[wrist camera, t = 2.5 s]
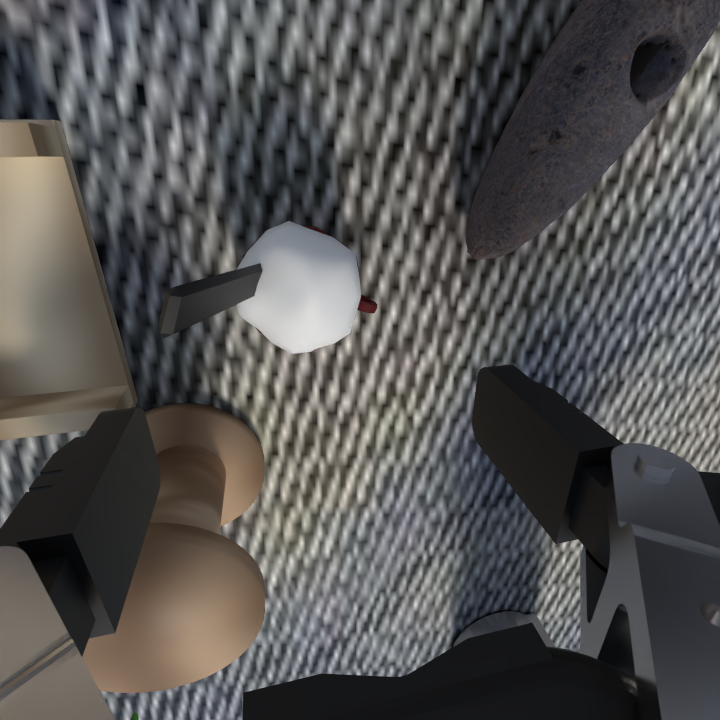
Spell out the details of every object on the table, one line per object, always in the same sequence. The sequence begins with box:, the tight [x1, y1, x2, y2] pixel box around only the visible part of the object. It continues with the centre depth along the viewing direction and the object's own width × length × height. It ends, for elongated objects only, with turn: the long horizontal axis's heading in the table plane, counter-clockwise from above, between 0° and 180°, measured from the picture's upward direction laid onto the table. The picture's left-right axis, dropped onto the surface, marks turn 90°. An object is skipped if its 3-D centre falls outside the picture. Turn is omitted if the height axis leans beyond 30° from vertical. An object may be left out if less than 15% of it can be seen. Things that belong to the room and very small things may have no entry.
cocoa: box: [158, 221, 377, 354], centre depth 19 cm, size 10×6×12 cm, turn 46°
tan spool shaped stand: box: [82, 403, 265, 693], centre depth 24 cm, size 10×10×11 cm
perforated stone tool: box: [466, 0, 720, 259], centre depth 21 cm, size 15×5×7 cm, turn 148°
